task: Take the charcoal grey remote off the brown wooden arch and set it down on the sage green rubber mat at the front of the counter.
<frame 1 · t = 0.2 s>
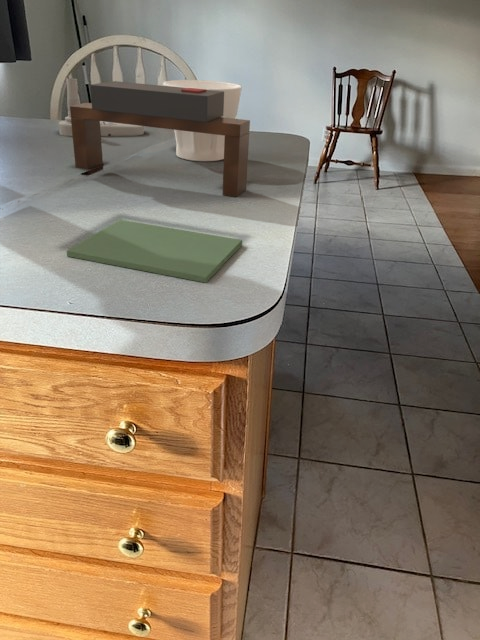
mat: (158, 250, 53), on the table
cup: (201, 157, 90), on the table
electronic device: (103, 139, 99), on the table
remote: (158, 112, 71), point 9 cm above the table, touching brown wooden arch
brown wooden arch: (159, 181, 75), on the table
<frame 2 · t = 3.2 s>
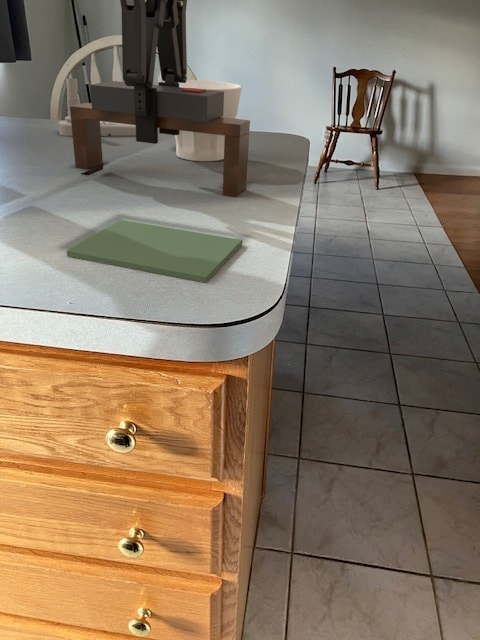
hand: (158, 137, 72), 6 cm above the table, tool pointing down, fingers closed on remote, 6 cm apart
remote: (158, 112, 71), point 9 cm above the table, touching gripper, brown wooden arch
everything else where it was.
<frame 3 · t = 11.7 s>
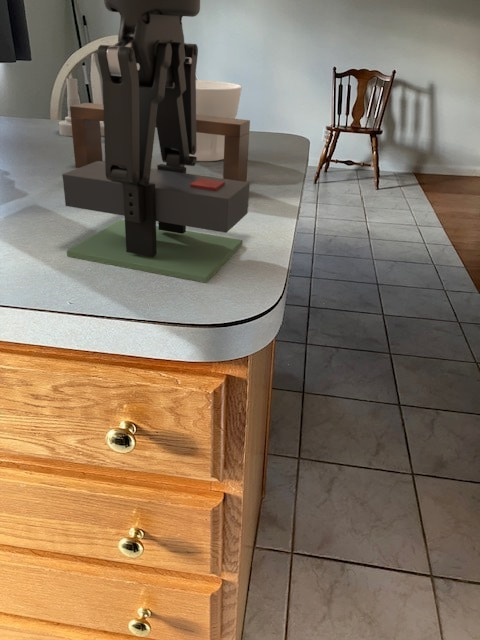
hand: (157, 240, 52), 1 cm above the table, tool pointing down, fingers closed on remote, 6 cm apart
remote: (157, 209, 51), point 4 cm above the table, touching gripper
everything else where it was.
when the fingers open (1 cm above the table, at t = 16.5 s): remote drops 4 cm, resting on mat.
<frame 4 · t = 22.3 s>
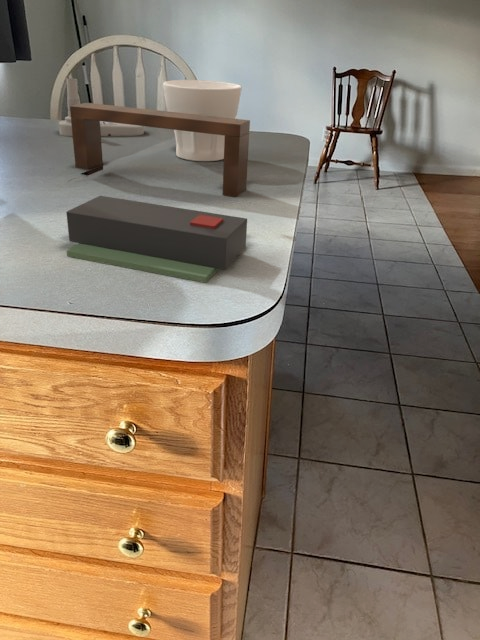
remote: (158, 244, 53), point 1 cm above the table, touching mat
everything else where it was.
at the end: remote inside the target area on the mat (0.0 cm from its centre), point 0.6 cm above the mat's base; remote touching mat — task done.
